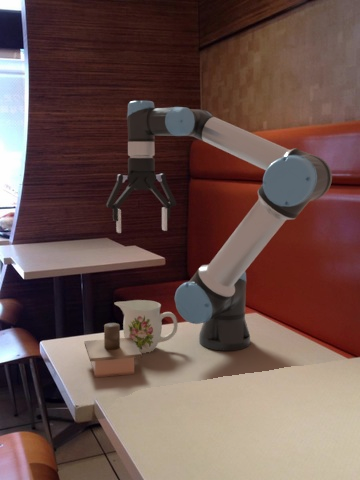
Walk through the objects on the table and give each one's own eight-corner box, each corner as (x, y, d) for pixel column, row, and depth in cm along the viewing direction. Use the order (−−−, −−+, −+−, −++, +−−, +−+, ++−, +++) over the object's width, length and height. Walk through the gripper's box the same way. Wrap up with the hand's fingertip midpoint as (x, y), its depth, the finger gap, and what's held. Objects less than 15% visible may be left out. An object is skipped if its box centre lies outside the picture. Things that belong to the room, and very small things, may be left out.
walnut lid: (131, 340, 163) (131, 316, 161) (141, 357, 150) (141, 331, 149) (84, 343, 159) (84, 319, 158) (90, 361, 147) (89, 335, 146)
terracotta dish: (127, 359, 162) (127, 342, 161) (134, 374, 152) (134, 355, 151) (91, 362, 159) (90, 345, 158) (95, 377, 150) (95, 358, 149)
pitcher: (177, 356, 165) (178, 308, 162) (113, 356, 164) (112, 308, 162) (176, 342, 176) (177, 298, 173) (116, 342, 175) (115, 297, 173)
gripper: (178, 156, 174) (178, 227, 178) (95, 156, 167) (96, 231, 170) (187, 157, 167) (187, 231, 171) (100, 157, 160) (101, 235, 163)
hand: (141, 231), depth 171 cm, fingers open, 13 cm apart
